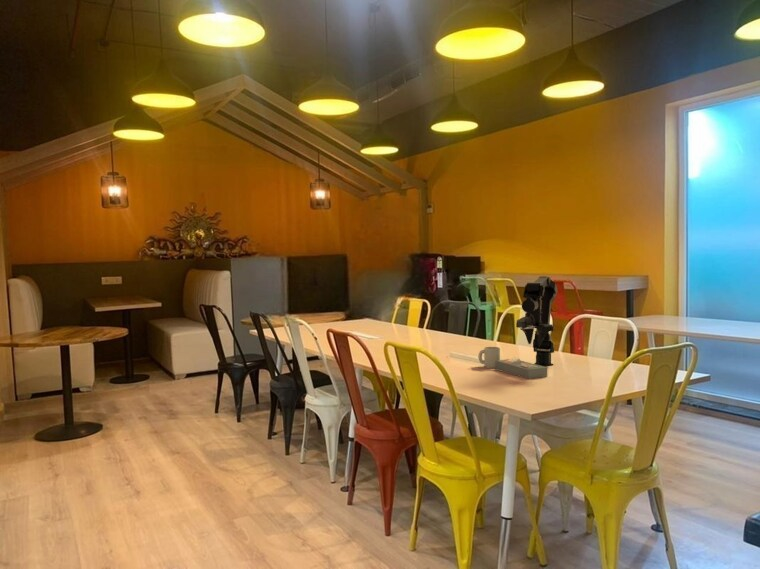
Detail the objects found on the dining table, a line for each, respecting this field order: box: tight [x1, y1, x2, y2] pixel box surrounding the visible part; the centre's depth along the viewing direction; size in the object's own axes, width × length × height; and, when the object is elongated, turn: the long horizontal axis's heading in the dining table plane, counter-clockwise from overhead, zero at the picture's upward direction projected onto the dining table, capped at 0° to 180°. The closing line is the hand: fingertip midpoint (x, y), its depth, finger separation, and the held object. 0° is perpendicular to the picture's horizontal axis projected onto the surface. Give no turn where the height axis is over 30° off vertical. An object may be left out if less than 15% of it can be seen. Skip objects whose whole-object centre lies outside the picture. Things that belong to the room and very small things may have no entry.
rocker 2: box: [521, 363, 537, 368], centre depth 246 cm, size 6×4×1 cm, turn 115°
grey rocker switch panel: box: [495, 358, 548, 380], centre depth 251 cm, size 10×23×4 cm, turn 25°
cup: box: [478, 346, 501, 369], centre depth 266 cm, size 7×10×9 cm
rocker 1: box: [505, 357, 521, 363], centre depth 256 cm, size 6×4×1 cm, turn 115°
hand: (534, 345), depth 253 cm, fingers open, 6 cm apart
